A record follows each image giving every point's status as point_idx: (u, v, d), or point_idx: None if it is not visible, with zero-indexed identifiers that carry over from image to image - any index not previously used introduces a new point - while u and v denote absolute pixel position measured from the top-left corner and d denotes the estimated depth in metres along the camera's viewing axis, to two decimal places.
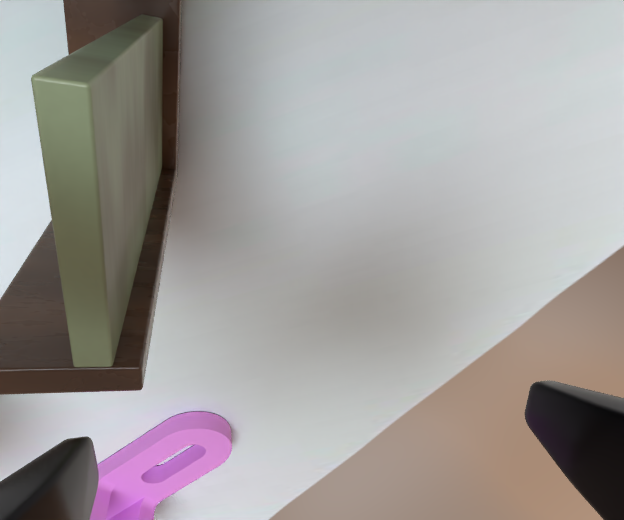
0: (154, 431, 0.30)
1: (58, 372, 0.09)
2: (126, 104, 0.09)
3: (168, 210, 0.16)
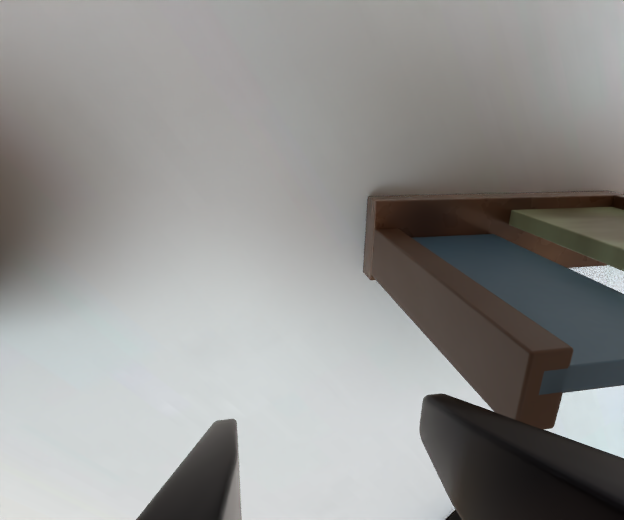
0: None
1: None
2: None
3: None
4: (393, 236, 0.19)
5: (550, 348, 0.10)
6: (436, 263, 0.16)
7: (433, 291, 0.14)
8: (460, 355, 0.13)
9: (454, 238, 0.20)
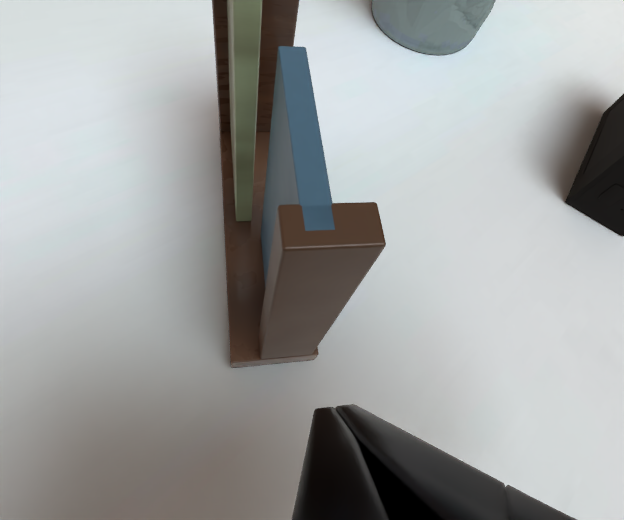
0: None
1: None
2: (232, 62, 0.14)
3: (216, 72, 0.21)
4: (260, 342, 0.18)
5: (279, 228, 0.09)
6: (264, 310, 0.15)
7: (285, 316, 0.13)
8: (335, 290, 0.12)
9: (264, 274, 0.20)
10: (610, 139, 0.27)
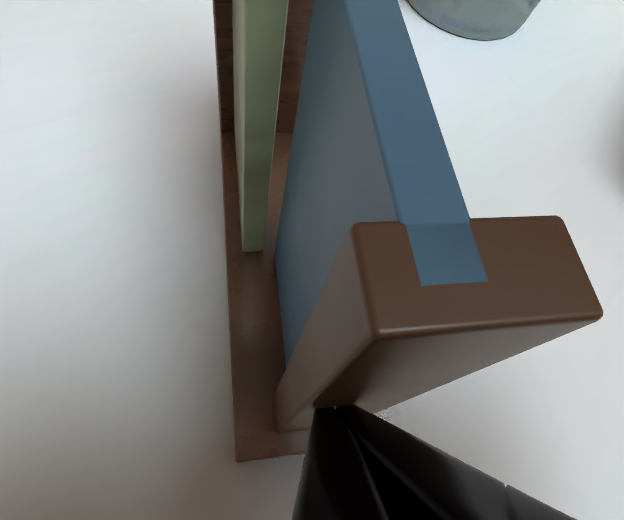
0: None
1: None
2: (240, 8, 0.09)
3: (216, 48, 0.15)
4: (278, 414, 0.12)
5: (359, 281, 0.04)
6: (290, 384, 0.09)
7: (329, 405, 0.08)
8: (434, 378, 0.06)
9: (281, 309, 0.15)
10: None
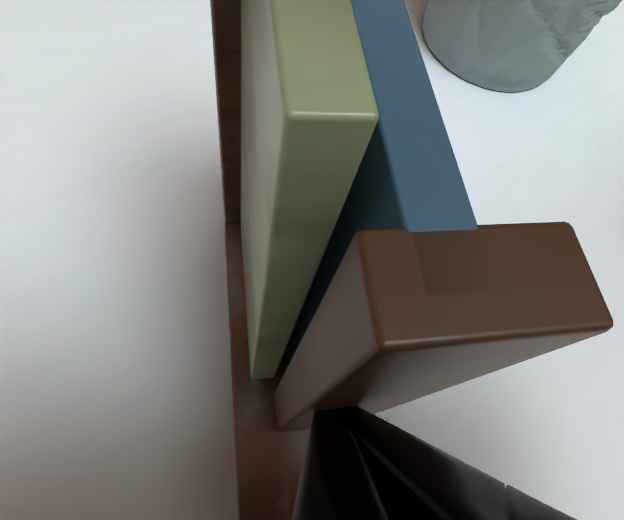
0: None
1: None
2: (258, 210, 0.06)
3: (221, 154, 0.13)
4: (278, 413, 0.12)
5: (363, 290, 0.04)
6: (291, 386, 0.09)
7: (331, 408, 0.08)
8: (437, 382, 0.06)
9: None
10: None
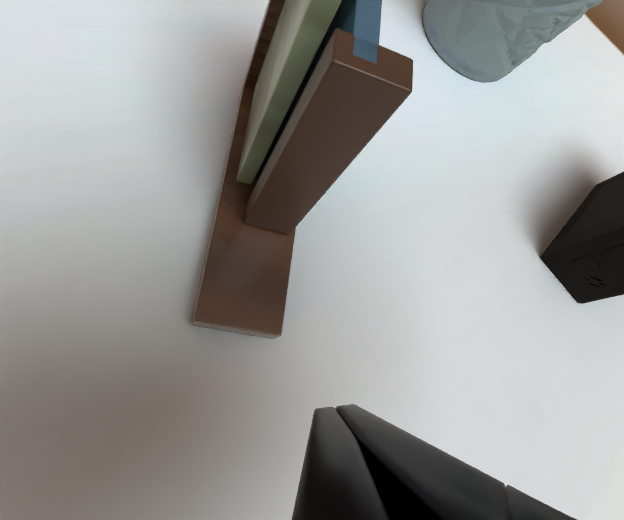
0: None
1: None
2: (294, 25, 0.14)
3: (262, 24, 0.19)
4: (250, 203, 0.19)
5: (332, 46, 0.11)
6: (272, 159, 0.16)
7: (293, 162, 0.15)
8: (348, 140, 0.14)
9: None
10: (597, 212, 0.28)
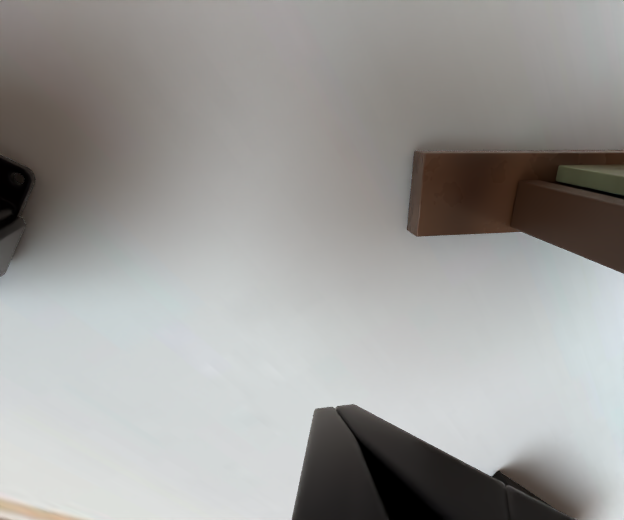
0: None
1: None
2: None
3: None
4: (545, 184, 0.20)
5: None
6: (617, 200, 0.16)
7: None
8: None
9: (591, 190, 0.21)
10: None
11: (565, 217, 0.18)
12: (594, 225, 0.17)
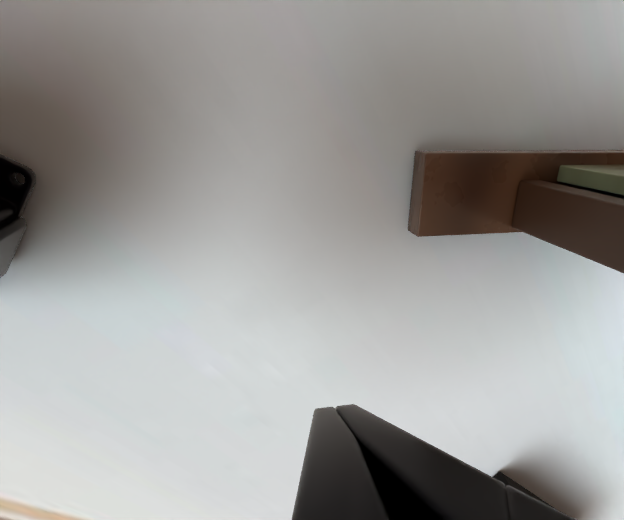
0: None
1: None
2: None
3: None
4: (546, 184, 0.19)
5: None
6: (619, 200, 0.16)
7: None
8: None
9: (593, 190, 0.21)
10: None
11: (566, 217, 0.18)
12: (595, 225, 0.16)
